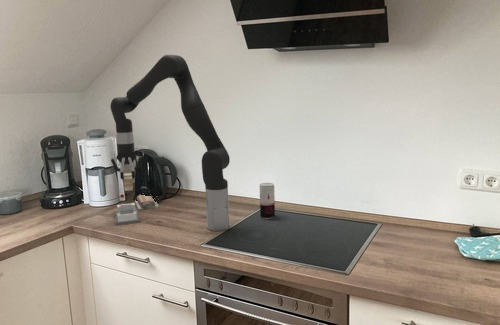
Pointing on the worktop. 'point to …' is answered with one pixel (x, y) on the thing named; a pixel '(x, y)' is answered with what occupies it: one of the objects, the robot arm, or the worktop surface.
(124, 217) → the board
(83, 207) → the worktop surface
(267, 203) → the beverage can
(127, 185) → the slat
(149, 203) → the packaged product
